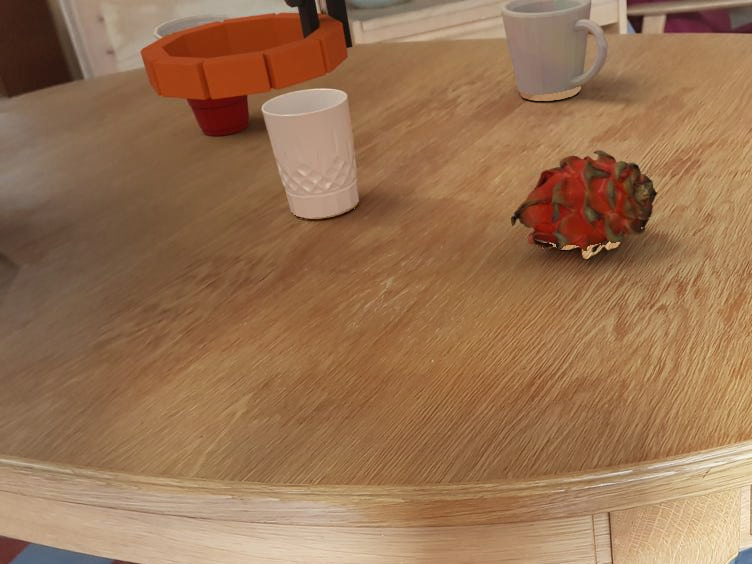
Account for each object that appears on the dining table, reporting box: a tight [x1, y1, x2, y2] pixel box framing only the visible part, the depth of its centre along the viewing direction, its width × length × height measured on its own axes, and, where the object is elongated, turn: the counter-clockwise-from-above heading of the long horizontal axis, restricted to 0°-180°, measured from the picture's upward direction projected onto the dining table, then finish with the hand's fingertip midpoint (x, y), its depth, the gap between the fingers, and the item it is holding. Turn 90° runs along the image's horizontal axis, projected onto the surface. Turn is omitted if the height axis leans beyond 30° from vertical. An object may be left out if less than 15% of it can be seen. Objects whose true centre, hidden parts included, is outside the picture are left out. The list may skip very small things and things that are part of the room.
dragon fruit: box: [510, 149, 658, 251], centre depth 77 cm, size 8×8×12 cm
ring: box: [139, 12, 349, 100], centre depth 72 cm, size 15×15×2 cm
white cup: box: [261, 87, 360, 218], centre depth 89 cm, size 8×8×10 cm
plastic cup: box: [152, 12, 250, 137], centre depth 112 cm, size 11×11×12 cm
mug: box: [500, 0, 609, 95], centre depth 110 cm, size 10×15×10 cm
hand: (328, 47), depth 74 cm, fingers closed on ring, 2 cm apart
